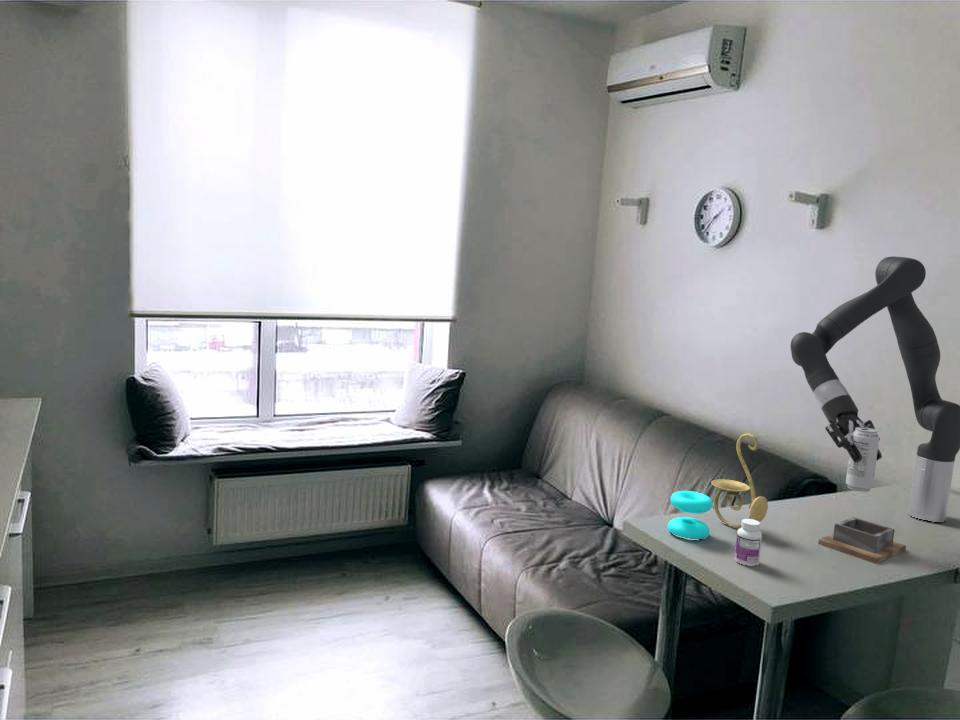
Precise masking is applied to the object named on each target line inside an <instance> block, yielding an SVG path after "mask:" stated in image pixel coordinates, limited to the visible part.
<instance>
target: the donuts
mask: <svg viewBox="0 0 960 720" xmlns="http://www.w3.org/2000/svg"><path fill="white" fill-rule="evenodd" d="M670 503H671V504H672V506H673V507H674V508H676V509H677V510H678V511H681V512H684V513H687V514H694V515H696V514H697V515H700V514H704V513H708V512H709V511H710V510H711V509H712V508H713V507H714V501H713V500H712V499H711V498H710V497H709V496H708V495H707V494H704V493H702V492H701V493H700V492H697V491H692V490H678V491H675V492H674V493H672V494H671V495H670ZM667 530H668V532H669V531H670V532H671V533H673V534H675V535H678V536H681V537H685V538H690V539H703V540H705V539H707V538H708V537H709V536H710V532H711V531H710V528H709V526H708V524H706V523H705V522H704V521H702V520H700V519H697V518H694V517H690V516H689V517H688V516H679V517H673V519H671V520H670V521H669V522H668V524H667ZM670 532H669V533H670ZM671 533H670V534H671ZM704 538H705V539H704Z"/></svg>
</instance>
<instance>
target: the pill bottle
mask: <svg viewBox="0 0 960 720" xmlns="http://www.w3.org/2000/svg"><path fill="white" fill-rule="evenodd" d="M741 526H742V528H737V532H736V541H735V549H734V561H735V562H736V563H737V562H738V563H737V564H739V563H740V564H739V565H741V564H743V565H742V566H745V565H747V566H746V567H755V565H756V566H758V565H759V564H760V563H759V562H760V557H761V549H762V548H761V547H762V538H763V534H762V532H761V531H760V528H761V522H759V521H756V520H753V519H749V518H742V519H741Z"/></svg>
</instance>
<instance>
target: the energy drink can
mask: <svg viewBox="0 0 960 720" xmlns="http://www.w3.org/2000/svg"><path fill="white" fill-rule="evenodd" d="M879 438H880V436H879V434H878V429H876V428H875V429H873V428H868V427H856V429H855V431H854V433H853V441H854V445H856V447H857V449H858V450H859V452H860V454H861V456H862V460H860V461H859V462H854V461H853V459H852V458H851V456H850V455H849V454H848V463H847V470H846V478H845V484H846V485H847V488H848V489H850V490H852V491H855V492H862V493H866V492H867V493H868V492H870V490H871V489H873V487H874V481H875V480H874V479H875V473H876V472H875V471H876V465H877V461H876V459H877V452H878V449H879V443H880V440H879Z"/></svg>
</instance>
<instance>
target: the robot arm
mask: <svg viewBox="0 0 960 720" xmlns="http://www.w3.org/2000/svg"><path fill="white" fill-rule="evenodd" d="M926 272H927V271H926V268H925V265H924V264H923V263H922V262H921V261H920V260H918V259H915V258H912V257H904V256H887V257H884V258H883V259H881V260H880V261H879V262H878V264H877V265H876V268H875V275H874V276H875V281H876V284H877V285H875V286H874V287H873V288H871V289H870V290H868V291H866V292H864V293H862V294H860V295H858V296H856V297H854V298H852V299H850V300H848V301H846V302H844V303H842V304H840V305H838V306H837V307H836V308H835V309H833V310H832V311H831V312H829V314H827V315H826V316H825V317H823V318H822V319H821V320H820V321H819V322H818V323H817V325H816V327H815V329H814V331H813V332H812V333H810V332H805V331H803V332H797V334H795V335H794V336H793V337H792V339H791V341H790V352H791V353H790V354H791V358H792V361H793V362H794V363H795V364H796V365H797V366H799V367H801V368H802V370H803V372H804V376H805V379H806V381H807V384H808V385H809V388H810V389H811V391H812V392H813V394H814V397H815V400H816V403H817V404H818V405H819V407H820V409H821V411H822V413H823V414H824V416H825V418H826V420H827V422H828V423H829V424H828V425H827V426H825V431H826V432H827V433H828V435H829V436H830V438H831V440H832V442H833V443H834V444H835V446H836V447H837V448H839V449H840V448H843V449H844V450H846V451H847V453H848V456H849V455H850V456H851V458H852V459H853V461H854V462H859V461H860V460H862V456H861V454H860V452H859V450H858V449H857V447H856V445H854V441H853V433H854V431H855V429H856V427H868V428H873V429H876V427H875V425H874V423H873V421H871V420H870V419H868V420H867V421H863V420H862V419H861V418H860V417H859V408H858V407H857V405H856V404H855V402H854V400H853V398H852V396H851V395H850V394H849V393H850V392H848V390H847V388H846V387H845V385H844V384H843V383H842V381H841V380H840V377H838V375H837V374H836V372H835V370H834V368H833V367H832V365H831V363H830V362H829V359H828V357H827V355H826V354H828V352H829V351H830V350H831V349H833V348H834V346H835V345H836V343H837V342H839V341H841V340H842V339H843V338H845V337H846V336H847V335H849V334H850V333H851V332H852V331H853V330H854V329H856V328H857V327H858V326H860V325H861V324H863V323H864V322H866V321H867V320H868V319H870V318H871V317H872V316H874V315H875V314H877V313H879V312H880V311H881V310H883V309H885V308H886V309H887V311H888V314H889V316H890V317H889V319H890V321H891V324H892V328H893V332H894V334H895V337H896V341H897V345H898V349H899V352H900V355H901V359H902V362H903V366H904V368H905V372H906V376H907V380H908V384H909V386H910V391H911V397H912V398H911V399H912V404H913V410H914V415H915V418H916V422H917V423H918V425H919V426H920V427H921V428H922V429H924V430H926V431H929V432H932V433H931V437H930V440H929V442H926V443H921V444H919V445H918V446H917V451H916V456H915V457H916V458H915V463H914V471H913V476H912V485H911V491H910V498H909V504H908V512H907V514H908V515H909V517H911V516H912V518H913V517H915V518H914V519H916V518H918V519H917V520H919V519H923V520H928V521H933V522H932V523H934V522H942V523H945V522H946V521H947V520H946V519H947V514H948V507H949V500H950V495H951V494H950V493H951V487H952V482H953V481H952V480H953V476H954V475H953V474H954V468H955V462H956V456H957V454H958V453H959V451H960V404H958V403H955V402H951V401H949V400H945V399H943V398H941V394H940V393H939V390H938V386H937V382H936V375H937V371H938V368H939V366H940V361H941V350H940V346H939V343H938V339H937V336H936V333H935V331H934V328H933V326H932V325H931V324H930V321H928V319H927V318H926V316H925V315H924V313H923V312H922V311H921V309H920V308H919V307H918V305H917V303H916V301H915V299H914V296H913V293H914V292H915V291H916V290H918V289H919V288H921V286H922V285H923V284H924V281H925V279H926V274H927V273H926ZM839 439H840V440H839ZM879 441H881V438H880V437H879ZM882 457H883V455H882V452H881V451H880V449H879V448H878V452H877V459H876V462H877V461H879V460H881V459H882ZM923 520H922V521H923ZM945 520H946V521H945ZM944 521H945V522H944Z"/></svg>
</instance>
